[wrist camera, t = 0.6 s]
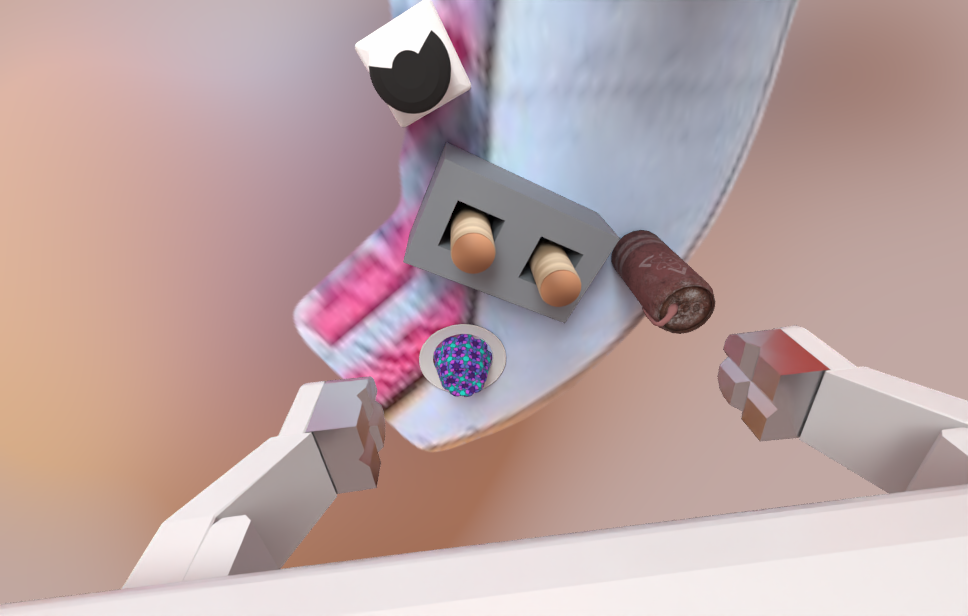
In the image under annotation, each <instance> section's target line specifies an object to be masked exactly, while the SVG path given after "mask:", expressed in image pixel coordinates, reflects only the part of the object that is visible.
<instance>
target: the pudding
mask: <svg viewBox="0 0 968 616" xmlns="http://www.w3.org/2000/svg"><path fill="white" fill-rule="evenodd" d="M456 334H464V335H460V336H459V337H457V338H455V337H450V336H453V335H456ZM468 334H471V335H475V336H477V337H479V338H481V339H483V340H484V341H483V340H481V339H474V338H473V337H472V336H471V335H468ZM447 337H449V338H447ZM444 339H445V340H444ZM443 340H444V341H443ZM441 341H443V342H442V346H441V347H439V348H436V347H437V345H438V344H439V343H440V342H441ZM485 341H486V342H485ZM486 343H487V344H488V345H489V346H490V348H491V350H492V353H493V361H492V364H491V360H492V354H491V352H489V351H488V350H487V344H486ZM435 348H436V350H435ZM434 351H435V352H434ZM433 353H434V358H435V362H436V363H435V366H434V363H433ZM419 364H420V368H421V371H422V373H423V375H424V376H425V377H426V379H427V380H428V381H429V382H430V383H432V384H433V385H434V386H436V387H437V388H440V389H442V390H444V391H448V392H450V394H452V395H453V396H461V395H462V396H464V397H469V396H472V395H473V394H474V393H477V392H479V391H481V390H482V389H484V388H486V387H488V386H489V385H491V384H492V383H493V382H495V381H496V380H497V379H498V377H499V376H500V375H501V373H502V372H503V370H504V367H505V364H506V352H505V349H504V346H503V345H502V343H501V341H500V340H499V339H498V338H497V337H496V336H495V335H494V334H493V333H491V332H490V331H488V330H486V329H484V328H482V327H479V326H475V325H469V324H459V325H452V326H449V327H445V328H443V329H441V330H439V331H437V332H436V333H434V334H433V335H431V336H430V337H429V338H428V339H427V340H426V342H425V343H424V345H423V347H422V349H421V351H420V356H419ZM490 364H491V367H490ZM435 367H436V368H435Z"/></svg>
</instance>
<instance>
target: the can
mask: <svg viewBox="0 0 968 616" xmlns="http://www.w3.org/2000/svg"><path fill="white" fill-rule="evenodd" d="M612 264H613V266H614V268H615V270H616V271H617V272H618V274H619V275H620V276H621V278H622V279H623V281H624V282H625V283H626V285H627V286H628V287H629V289H630V290H631V291H632V293H633V294H634V295H635V297H636V298H637V300H638V301H639V302H640V304H641V305H642V306H643V307H642V309H643V311H644V313H645V315H646V317H647V318H648V319H649V320H650V321H651V322H652V323H653V325H655V326H658V327H659V328H662V329H664V330H666V331H669V332H672V333H679V334H681V333H687V332H691V331H693V330H695V329H697V328H699V327H700V326H702V325H703V324H705V322H706V321H707V320H708V319H709V318H710V317H711V315H712V313H713V311H714V307H715V299H714V294H713V290H712V288H711V287H710V286H709V284H708V283H707V282H706V281H705V280H704V279H703V278H702V277H701V276H699V275H698V274H697V273H696V272H695V271H694V270H693V269H692V268H691V267H690V266H689V265H687V264H686V263H685V262H684V261H683V260H682V259H681V258H680V257H679V256H678V255H677V254H676V253H674V252H673V251H672V250H671V249H670V248H669V247H668V246H667V245H666V244H665V243H664V242H663V241H661V240H660V239H659V238H658V237H657V236H656V235H655V234H653V233H651V232H649V231H644V230H639V231H633V232H631V233H629V234H627V235H625V236H624V237H622V238H621V239H620V240H619V241H618V243H617V244H616V246H615V247H614V249H613V252H612Z"/></svg>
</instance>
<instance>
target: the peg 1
mask: <svg viewBox="0 0 968 616" xmlns="http://www.w3.org/2000/svg"><path fill="white" fill-rule="evenodd" d="M495 255H496V250H495V244H494V240H493V235H492V231H491V226H490V221H489V218H488V215H487V214H486V213H485V212H484V211H481V210H479V209H477V208H475V207H472V206H464V207H461V208H460V209H458V210H457V211H456V212H455V213H454V215H453V216H452V219H451V258H452V261H453V263H454V264H455V266H456V267H457V268H459V269H460V270H461V271H463V272H466V273H470V274H476V273H480V272H483V271H485V270H486V269H488V268H489V267H490V265H491V264H492V263H493V261H494V259H495Z"/></svg>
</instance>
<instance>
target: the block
mask: <svg viewBox="0 0 968 616" xmlns="http://www.w3.org/2000/svg"><path fill="white" fill-rule="evenodd" d="M457 201H461V202H463V203H465V204H468V205H470V206H472V207H475V208H477V209H479V210H481V211H484V212H486V213H488V214H489V216H488V218H489V221H490V226H491V231H492V235H493V240H494V244H495V250H496V255H495V259H494V261H493V263H492V264H491V265H490V267H489V268H488V269H486V270H485V271H483V272H480V273H476V274H470V273H466V272H463V271H461V270H460V269H459V268H457V267H456V266H455V264H454V263H453V261H452V258H451V223H449V222H448V221H449V219H450V217H451V214H452V212H453V210H454V208H455V205H456V203H457ZM541 236H542V237H544V238H546V239H548V240H551V241H553V242H555V243H558V244H560V245H562V247H563V249H564V251H565V252H566V254H567V256H568V258H569V260H570V261H571V263H572V265H573V267H574V269H575V270H576V272H577V274H578V276H579V278H580V280H581V291H580V294H579V296H578V297H577V299H576V300H575V301H573V302H572V303H571V304H569V305H566V306H562V307H555V306H551V305H549V304H547V303H546V302H545V301H544V300H543V299H542V298H541V296H540V293H539V290H538V288H537V285H536V282H535V279H534V276H533V274H532V271H531V268H530V265H529V262H528V259H529V257H530V256H531V254H532V252H533V250H534V248H535V247H536V245H537V243H538V241H539V239H540V238H541ZM619 239H620V238H619V237H618V236H617V235H616V233H615V232H614V231H613V230H612V229H611V228H610V227H609V225H608V224H607V223H606V222H605V221H604V220H603V219H602V218H601V216H600V215H599V214H598V213H597V212H595V211H593V210H590V209H588V208H586V207H584V206H582V205H580V204H578V203H575V202H573V201H571V200H569V199H567V198H565V197H563V196H561V195H558V194H556V193H554V192H552V191H550V190H548V189H546V188H543V187H541V186H539V185H537V184H535V183H533V182H531V181H528V180H526V179H524V178H522V177H520V176H518V175H516V174H514V173H511V172H509V171H507V170H505V169H503V168H501V167H499V166H496V165H494V164H492V163H490V162H488V161H486V160H484V159H481V158H479V157H477V156H475V155H473V154H471V153H469V152H467V151H464V150H462V149H460V148H458V147H456V146H454V145H452V144H449V143H447V142H446V144H445V146H444V149H443V151H442V154H441V156H440V159H439V161H438V164H437V166H436V169H435V171H434V174H433V176H432V179H431V181H430V184H429V186H428V189H427V191H426V194H425V196H424V199H423V201H422V204H421V206H420V209H419V211H418V214H417V216H416V219H415V221H414V224H413V226H412V229H411V231H410V235H409V239H408V244H407V248H406V253H405V257H404V263H407V264H410V265H412V266H415V267H418V268H420V269H423V270H426V271H428V272H431V273H434V274H436V275H439V276H442V277H444V278H447V279H449V280H452V281H455V282H457V283H460V284H463V285H465V286H468V287H471V288H473V289H476V290H479V291H481V292H484V293H487V294H489V295H492V296H495V297H497V298H500V299H502V300H505V301H508V302H510V303H513V304H516V305H518V306H521V307H524V308H526V309H529V310H532V311H534V312H537V313H540V314H542V315H545V316H547V317H550V318H553V319H555V320H558V321H561V322H563V323H565V322H566V321H567V319H568V318H569V316H570V315H571V313H572V312H573V310H574V309H575V307H576V306H577V304H578V302H579V301H580V299H581V298H582V296H583V295H584V293H585V292H586V290H587V289H588V287H589V286H590V284H591V283H592V281H593V279H594V278H595V276H596V275H597V273H598V272H599V270H600V269H601V267H602V266H603V264H604V263H605V261H606V259H607V258H608V256H609V255H610V253H611V252H612V250H613V249H614V247H615V246H616V244H617V243H618V241H619Z"/></svg>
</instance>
